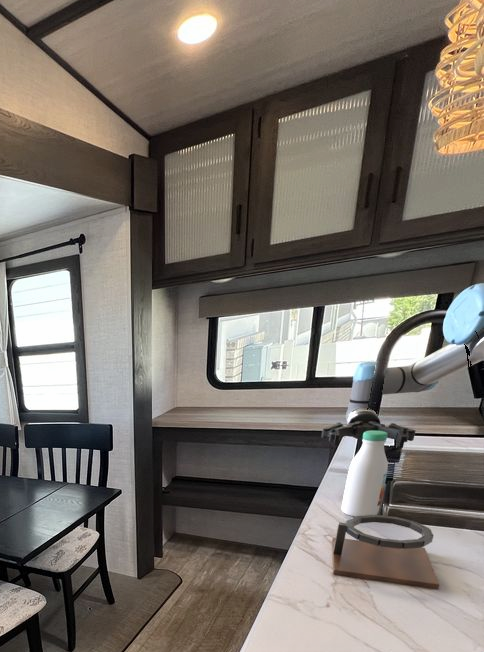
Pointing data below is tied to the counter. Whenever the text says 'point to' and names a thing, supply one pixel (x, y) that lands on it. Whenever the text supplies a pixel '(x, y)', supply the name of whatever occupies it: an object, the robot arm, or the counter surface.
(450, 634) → the counter surface
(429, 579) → the ring holder
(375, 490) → the milk bottle
